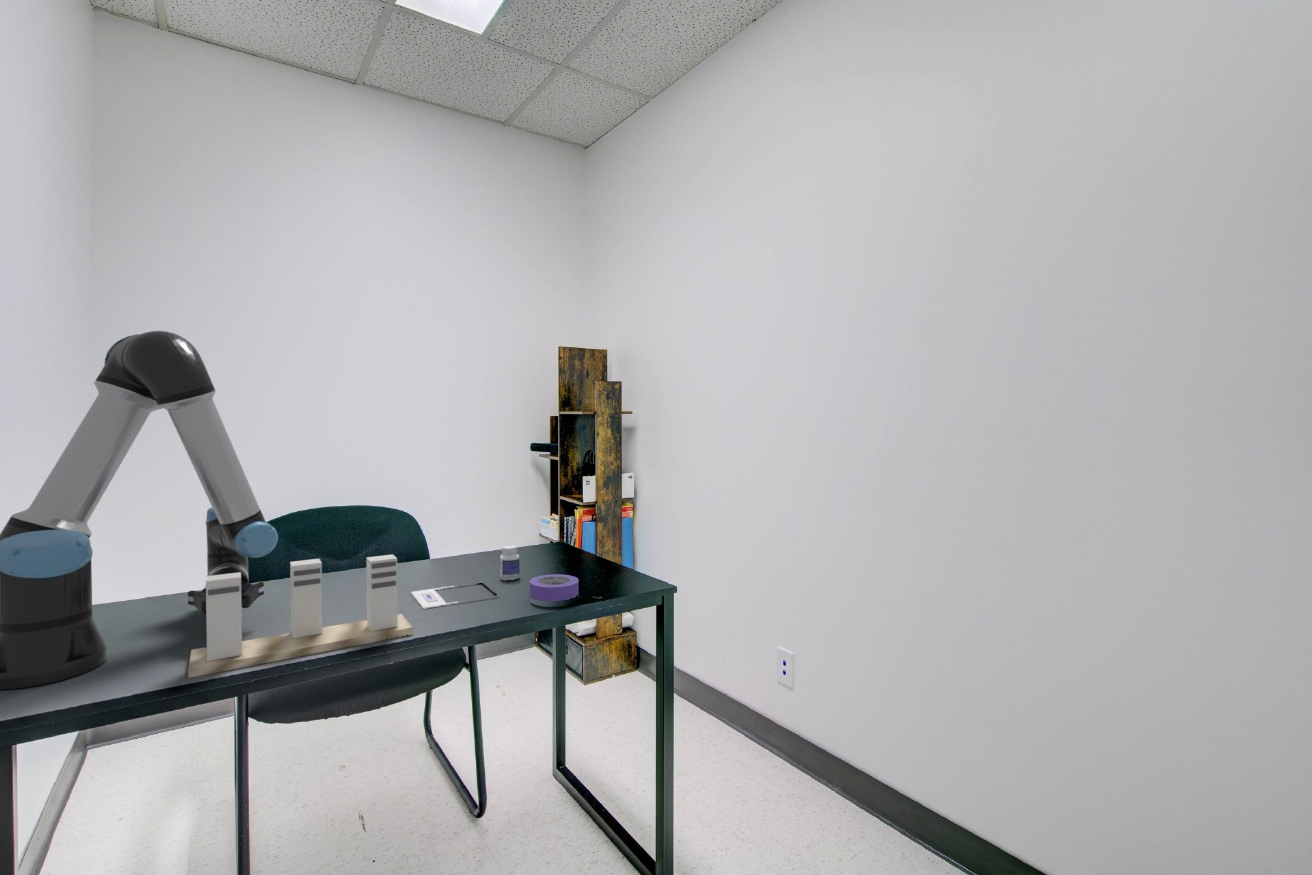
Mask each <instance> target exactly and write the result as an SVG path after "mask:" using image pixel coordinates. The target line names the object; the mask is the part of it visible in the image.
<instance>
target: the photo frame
mask: <svg viewBox="0 0 1312 875" xmlns="http://www.w3.org/2000/svg"><path fill="white" fill-rule="evenodd" d="M454 586H455V585H450V586H449V585H448V586H443V587H436V588H435V587H434V588H429V589H422V590H421V589H420V590H415V591H414V590H413V591H410V594H411V596H412V597H413V599H414V600H415V599H416V600H417V601H416V600H415V601H416V602H417V604H418V603H419V604H420V605H421V606H420V605H419V604H418V605H419V606H420V608H421V607H422V608H423V609H426V610H428V609H427V608H430V607H438V606H441V605H447V604H451V603H458V601H453V602H446V601H445V600H444V599H443V597H441V595H440V594H439V593H438V591H435V590H439V591H441V590H440V589H443V588H447V587H454ZM422 608H421V609H422ZM423 609H422V610H423Z"/></svg>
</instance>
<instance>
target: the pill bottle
mask: <svg viewBox="0 0 1312 875" xmlns="http://www.w3.org/2000/svg"><path fill="white" fill-rule="evenodd" d="M501 552H502V553H501V555H499V577H500V576H501V577H516V576H518V575H519V574H521V573H520V571H521V570H520V567H521V566H520V565H521V564H520V555H519V553H517V552H518V546H516V545H513V544H512V545H504V546H502V548H501Z"/></svg>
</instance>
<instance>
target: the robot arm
mask: <svg viewBox="0 0 1312 875" xmlns="http://www.w3.org/2000/svg"><path fill="white" fill-rule="evenodd" d="M93 384H94V385H95V388H96V390H97V393H98V394H97V396H96V398H95V400H94V401H93V403H92V404H91V406H90V407H89V409H88V411H87V413H86V415H84V418H83V419H82V421H81V422H80V424H79V426H78V428H76V431H75V432H74V434H73V435H72V437H71V439H70V440H69V442H68V444H67V445H66V447H65V448H64V450H63V452H62V453H61V455H60V456H59V458H58V460H57V462H56V463H55V465H54V466H53V468H52V469H51V471H50V473H49V475H48V476H47V478H46V479H45V481H44V482H43V484H42V486H41V487H40V489H39V491H38V492H37V494H36V495H35V497H34V499H33V501H32V502H31V504H30V506H29V507H28V508H27V509H25V510H22V511H19V512H16V513H13V514H11V516H10V518H9V519H8V521H7V522H6V524H5V526H4V527H3V528H2V530H1V531H0V690H13V689H23V688H29V687H35V686H36V687H37V686H42V685H46V684H51V683H54V682H59V681H62V680H66V679H69V678H72V677H75V676H79V675H82V674H85V673H87V672H90V671H92V670H94V669H96V668H99V667H100V666H101V665H102V664H104V663H105V662H106V661H107V659H108V657H107V656H108V655H107V654H108V653H107V652H108V651H107V648H108V647H107V645H106V644H107V643H106V642H105V641H104V638H103V637H102V635H101V632H100V630H99V629H98V627H97V625H96V622H95V621H94V617H93V582H92V581H93V580H92V579H93V578H92V558H93V553H94V551H93V548H92V545H91V540H90V537H91V536H92V534H93V533H92V531H91V530H90V527H89V524H88V521H89V520H90V518H91V517H92V515H93V513H94V511H95V509H96V508H97V505H98V504H99V503H100V501H101V499H102V497H103V495H104V494H105V492H106V490H107V489H108V487H109V486H110V483H111V482H112V480H113V479H114V477H115V475H116V473H117V471H118V470H119V468H120V466H121V464H122V463H123V461H124V459H125V457H126V456H127V454H128V453H129V451H130V449H131V447H132V445H133V444H134V442H135V440H136V438H138V437H137V436H138V435H139V434H140V432H141V430H142V428H143V427H144V425H145V423H146V421H147V420H148V418H149V416H150V415H151V413H153V412H155V411H158V410H162V409H164V410H167V412H168V413H167V414H168V415H169V418H170V419H171V421H172V424H173V426H174V428H175V429H176V432H177V434H178V437H179V439H180V441H181V444H182V445H183V447H184V449H185V451H186V453H187V455H188V456H187V457H188V458H189V460H190V462H191V465H192V466H193V468H194V470H195V472H196V475H197V477H198V480H199V481H200V484H201V486H202V488H203V490H204V492H205V495H206V497H207V499H208V501H209V503H210V505H211V507H209V508H208V509H207V511H206V519H205V520H206V521H205V528H206V549H207V550H206V551H207V554H206V555H207V557H206V558H207V559H206V562H207V564H206V565H207V566H206V567H207V570H206V571H207V576H213V575H221V574H230V573H238V572H241V607H242V609H247V608H250V607H251V606H252V605H253V604H254V602H256V600H257V599H258V598H259V597H261V596H263V595H264V594H265V582H262V581H259V582H257V583H254V584H253V583H251V582H250V581H249V558H252V559H253V558H261V557H264V556H266V555H268V554H270V553H271V552H272V551H273V550H274V549H275V548H276V546H277V544H278V540H279V534H278V532H277V530H276V528H275V527H274V526H273V525H271V524H270V523H268V522H267V521H266V518H265V517H264V515H263V513H262V510H261V508H260V506H259V503H258V501H257V498H256V496H255V495H254V492H253V490H252V487H251V485H250V482H249V480H248V478H247V476H246V474H245V471H244V469H243V466H242V465H241V462H240V459H239V458H238V455H237V453H236V450H235V448H234V446H233V443H232V440H231V439H230V437H229V434H228V432H227V430H226V427H225V425H224V422H223V419H222V418H221V416H220V413H219V410H218V408H217V406H216V404H215V401H214V399H213V397H214V396H215V394H216V392H217V391H216V388H215V386H214V383H213V382H212V379H211V377H210V374H209V372H208V369H207V368H206V365H205V363H204V361H203V358H202V356H201V355H200V353H199V351H198V350H197V348H196V347H195V346H194V344H192V343H191V342H190V341H189V340H188V339H186V338H184V337H183V336H181V335H179V334H176V333H174V332H170V331H163V330H153V331H152V330H151V331H146V332H143V333H141V334H140V333H136V334H133V335H128V336H125V337H124V338H121V339H119V340H117V341H116V342H115V343H113V344H112V345H111V346H110V348H109V349H108V350H107V352H106V354H105V358H104V366H103V367H102V369H101V371H100V373H99V374H98V376H97V377H96V379H95V380H94V382H93ZM207 576H206V577H207ZM187 605H188V606H194V607H195V608H196V609H197V610H198V611H199V612H200V613H201V614H203V615H206V586H205V587H204V588H203V589H201V590H189V591H187Z"/></svg>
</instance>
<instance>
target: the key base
mask: <svg viewBox="0 0 1312 875" xmlns="http://www.w3.org/2000/svg"><path fill="white" fill-rule="evenodd" d="M397 623H398V627H392V628H387V629H381V630H376V631H370V630H369V628H368V626H367V619H364V620H359V621H353V622H346V623H340V624H335V625H329V626H324V627H323V626H322V634H316V635H310V636H305V637H299V638H292V634H291V632H288V633H284V634H283V633H282V634H277V635H271V636H264V637H259V638H254V639H248V640H242V655H239V656H234V657H228V658H223V659H217V660H212V661H207V646H206V647H201V648H194V649H191V651H190V657H189V664H188V668H187V670H188V672H187V674H188V675H187V676H188V677H187V678H188V679H189V678H195V677H200V676H205V675H210V674H215V673H220V672H221V673H222V672H227V671H231V670H236V669H237V670H238V669H241V668H246V667H252V666H257V665H264V664H267V663H273V662H279V661H284V660H289V659H293V658H299V657H305V656H309V655H310V656H311V655H314V654H320V653H325V652H329V651H336V650H340V649H346V648H351V647H357V646H363V645H366V644H372V643H377V641H378V642H382V640H383V641H387V640H386V639H388V640H392V639H391V638H393V639H396V638H395V637H398V638H402V636H404V637H407V636H406V635H409V636H413V634H414V627H413V626H412V624H410V622H409V621H408V620H407V619H406V618H405V616H404V615H403V614H402V613H400V614H399V613H397Z"/></svg>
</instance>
